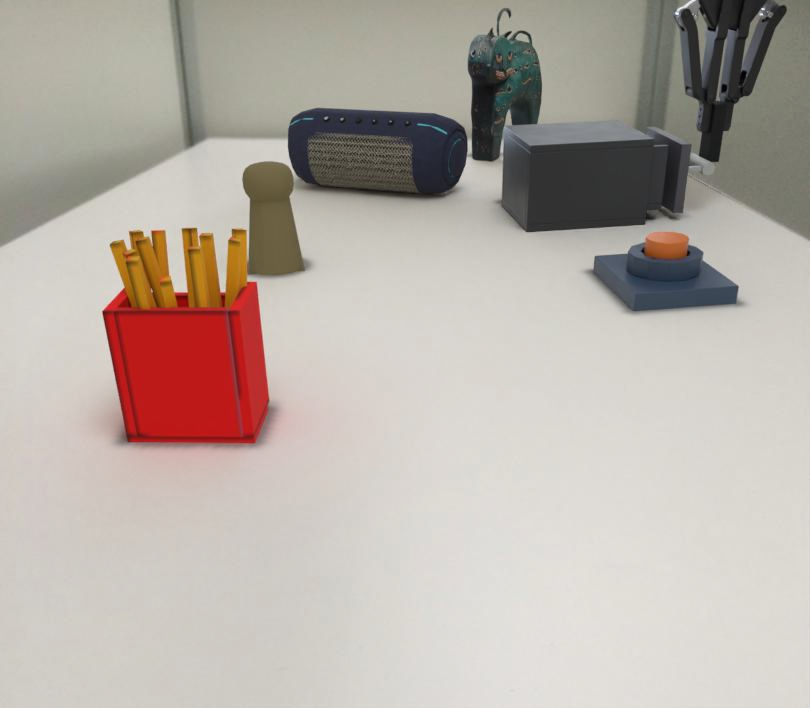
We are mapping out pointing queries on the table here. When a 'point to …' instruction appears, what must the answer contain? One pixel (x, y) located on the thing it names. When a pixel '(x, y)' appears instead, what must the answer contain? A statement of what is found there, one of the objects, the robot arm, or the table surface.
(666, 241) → the button
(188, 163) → the table surface
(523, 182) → the grey box
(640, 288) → the control block
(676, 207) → the drawer
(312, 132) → the portable speaker
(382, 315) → the table surface
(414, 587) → the table surface
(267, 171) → the cork
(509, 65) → the green animal figurine
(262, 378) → the french fries container
